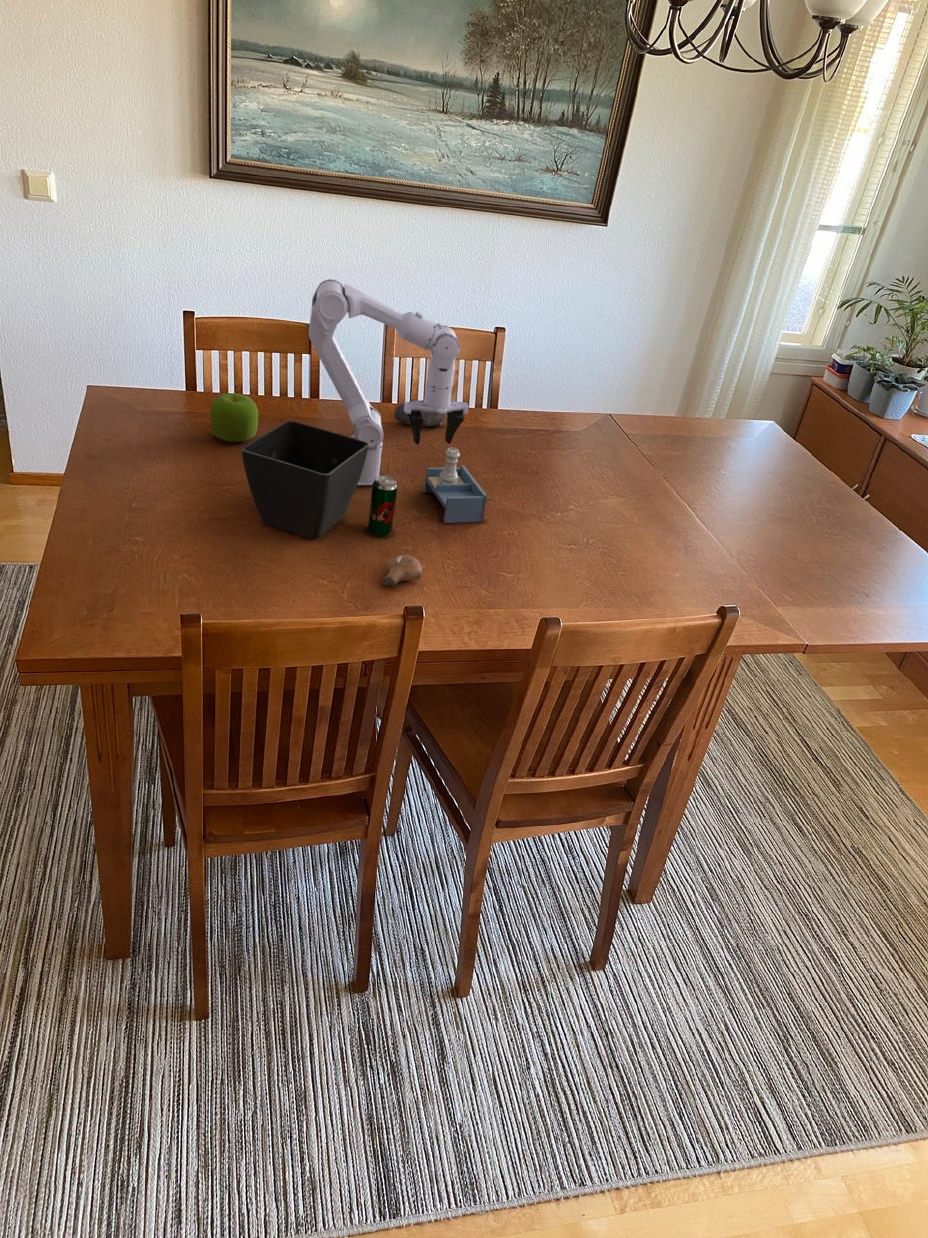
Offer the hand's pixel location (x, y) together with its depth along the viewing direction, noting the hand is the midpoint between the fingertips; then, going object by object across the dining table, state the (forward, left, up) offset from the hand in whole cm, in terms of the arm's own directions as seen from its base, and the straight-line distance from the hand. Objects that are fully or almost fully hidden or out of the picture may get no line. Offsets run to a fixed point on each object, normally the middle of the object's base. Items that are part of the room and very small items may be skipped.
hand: (432, 442), depth 203 cm
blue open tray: (+3, -11, -10) cm, 16 cm away
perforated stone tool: (+10, +34, -11) cm, 37 cm away
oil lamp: (-18, -40, -11) cm, 45 cm away
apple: (-40, +25, -11) cm, 49 cm away
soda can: (-17, -22, -11) cm, 30 cm away
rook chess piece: (+2, -8, -6) cm, 10 cm away
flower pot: (-32, -16, -11) cm, 38 cm away
